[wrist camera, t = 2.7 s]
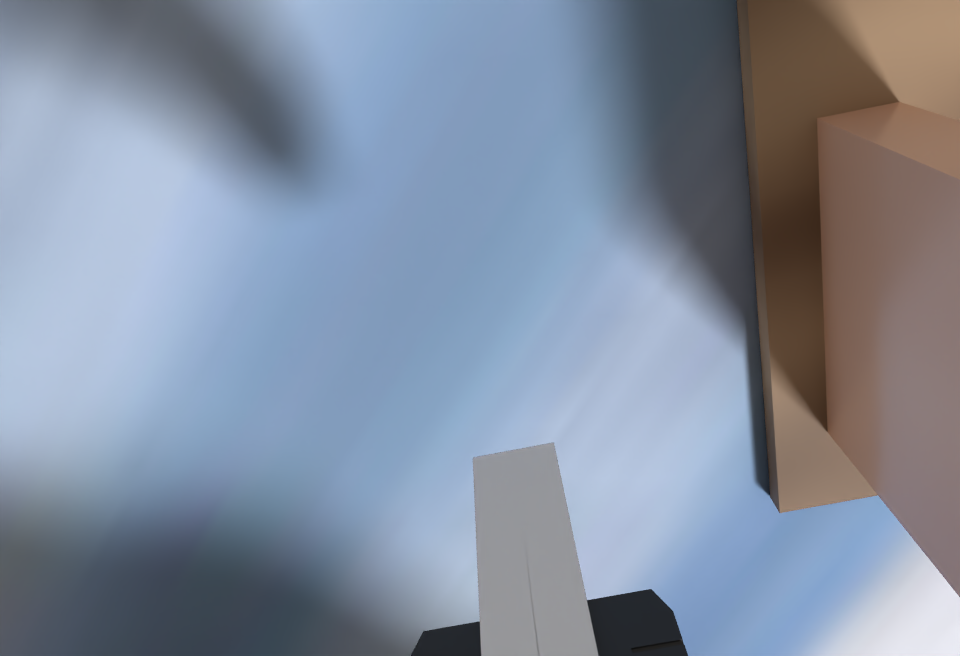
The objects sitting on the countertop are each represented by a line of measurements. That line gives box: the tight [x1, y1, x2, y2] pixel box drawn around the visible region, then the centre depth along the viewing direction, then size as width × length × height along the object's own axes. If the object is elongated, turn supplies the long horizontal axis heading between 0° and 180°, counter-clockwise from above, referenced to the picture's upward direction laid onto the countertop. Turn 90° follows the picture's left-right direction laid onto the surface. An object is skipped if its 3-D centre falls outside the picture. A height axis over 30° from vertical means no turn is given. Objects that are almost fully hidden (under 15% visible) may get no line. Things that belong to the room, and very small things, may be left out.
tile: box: [817, 102, 960, 597], centre depth 18 cm, size 9×2×9 cm, turn 11°
